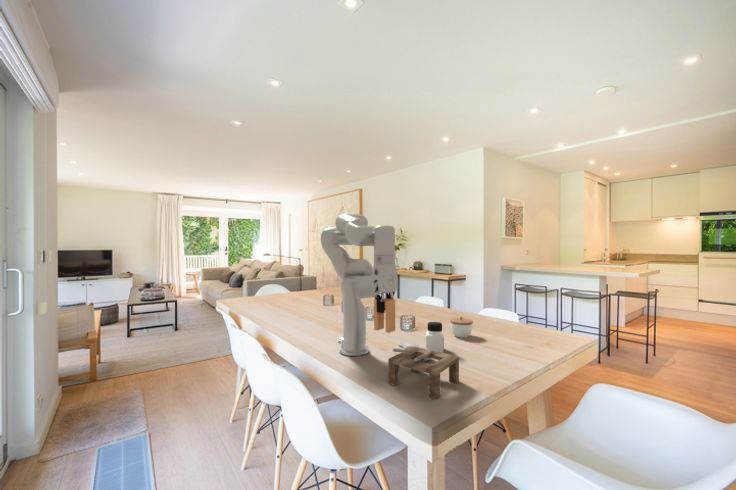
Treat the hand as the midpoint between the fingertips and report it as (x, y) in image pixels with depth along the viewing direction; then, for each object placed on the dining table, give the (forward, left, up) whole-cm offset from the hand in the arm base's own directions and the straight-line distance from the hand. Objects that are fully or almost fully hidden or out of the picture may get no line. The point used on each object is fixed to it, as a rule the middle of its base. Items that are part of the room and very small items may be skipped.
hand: (384, 311), depth 115 cm
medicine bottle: (+4, +31, -21) cm, 38 cm away
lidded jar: (+4, +59, -21) cm, 63 cm away
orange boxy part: (0, 0, -7) cm, 7 cm away
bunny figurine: (+1, +18, -22) cm, 28 cm away
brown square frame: (+16, 0, -21) cm, 27 cm away
